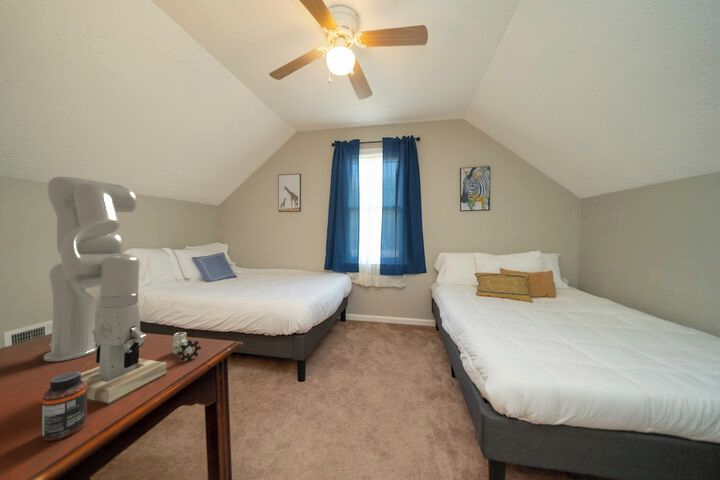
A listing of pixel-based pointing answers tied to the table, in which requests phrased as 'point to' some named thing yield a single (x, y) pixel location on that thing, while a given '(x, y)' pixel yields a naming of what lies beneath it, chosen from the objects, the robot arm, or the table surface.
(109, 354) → the skincare box
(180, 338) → the valve
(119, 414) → the table surface
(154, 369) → the socket block
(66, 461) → the table surface
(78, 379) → the supplement bottle
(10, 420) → the table surface
